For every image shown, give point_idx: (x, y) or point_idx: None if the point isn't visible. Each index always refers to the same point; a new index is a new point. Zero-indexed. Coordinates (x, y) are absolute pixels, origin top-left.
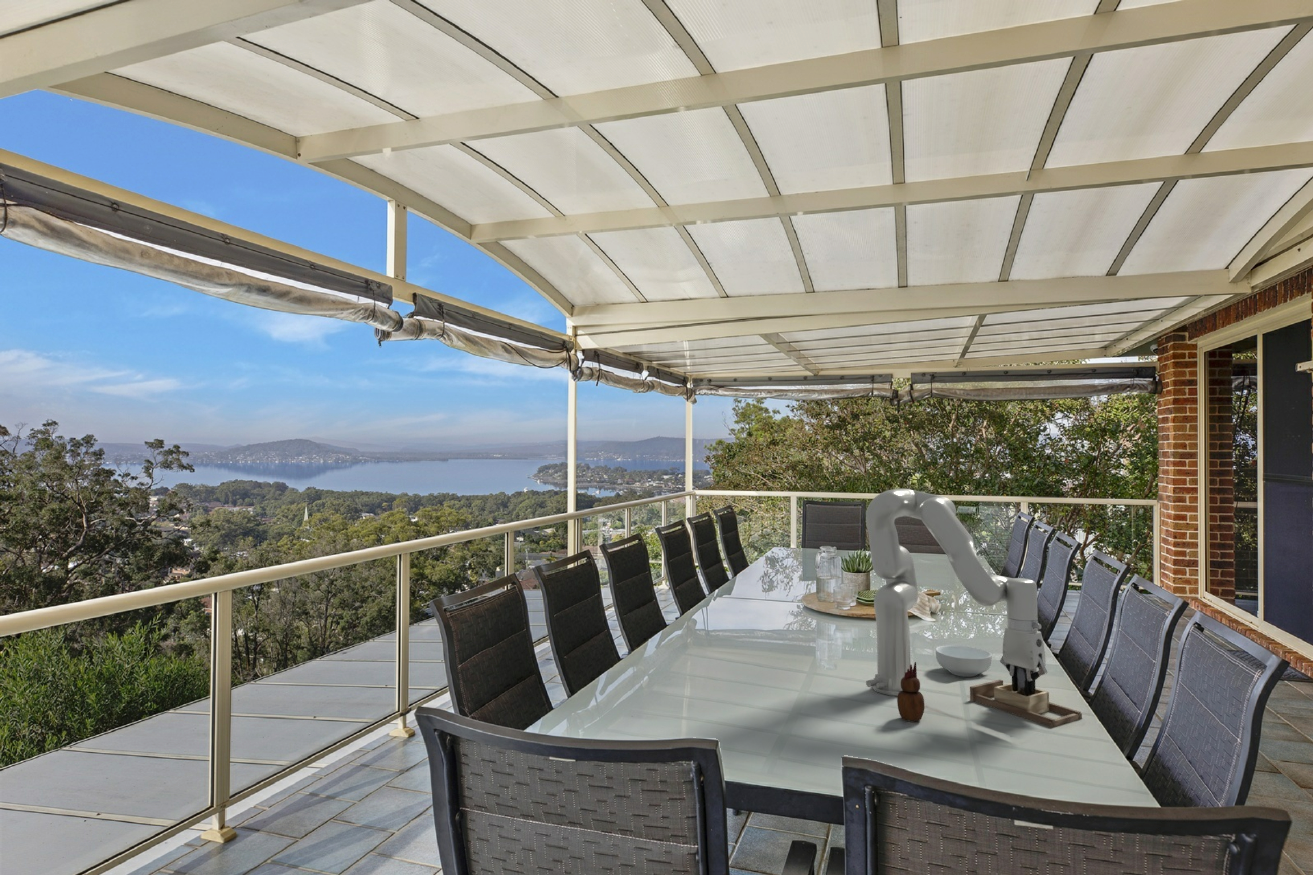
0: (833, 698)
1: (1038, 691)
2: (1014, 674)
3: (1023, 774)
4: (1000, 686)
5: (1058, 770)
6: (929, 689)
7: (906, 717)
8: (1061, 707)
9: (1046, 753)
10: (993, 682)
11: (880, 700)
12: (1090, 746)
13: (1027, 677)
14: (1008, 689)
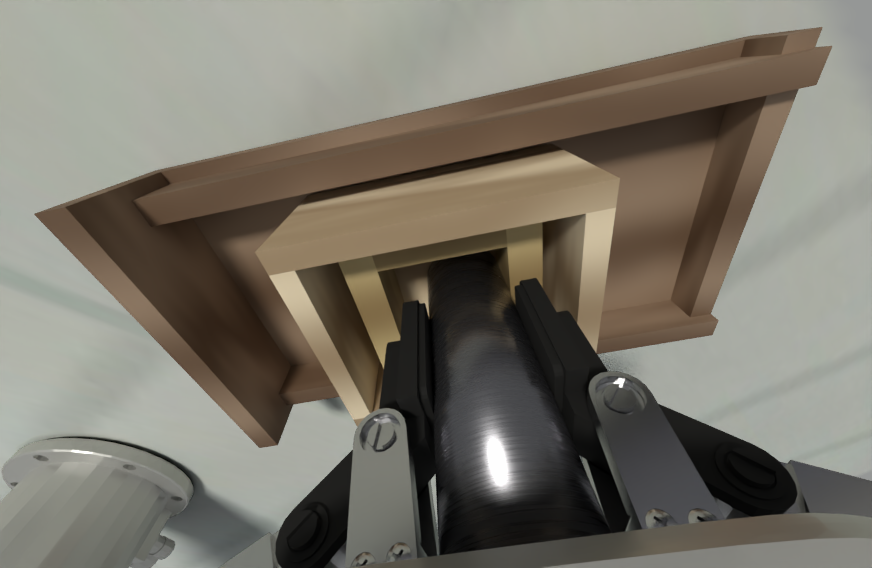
0: (218, 560)
1: (522, 221)
2: (427, 474)
3: None
4: (351, 399)
5: (784, 443)
6: (71, 398)
7: None
8: (665, 115)
9: (727, 414)
10: (155, 314)
11: (233, 517)
12: (847, 278)
13: (594, 473)
14: (341, 325)
